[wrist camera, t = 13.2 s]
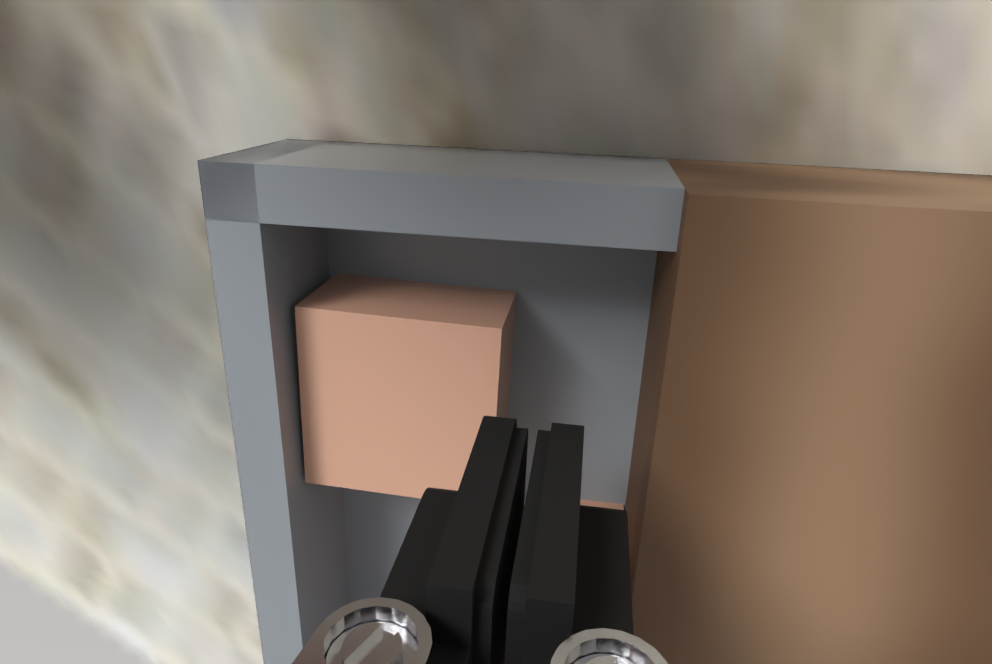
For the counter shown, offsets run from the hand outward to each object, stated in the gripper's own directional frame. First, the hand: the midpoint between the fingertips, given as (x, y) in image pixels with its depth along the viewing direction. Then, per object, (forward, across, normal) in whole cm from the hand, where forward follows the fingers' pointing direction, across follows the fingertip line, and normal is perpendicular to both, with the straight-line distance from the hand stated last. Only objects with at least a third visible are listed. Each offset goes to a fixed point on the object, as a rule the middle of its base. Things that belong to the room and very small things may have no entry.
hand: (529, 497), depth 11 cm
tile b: (+2, +3, 0) cm, 4 cm away
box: (+5, +2, +2) cm, 6 cm away
